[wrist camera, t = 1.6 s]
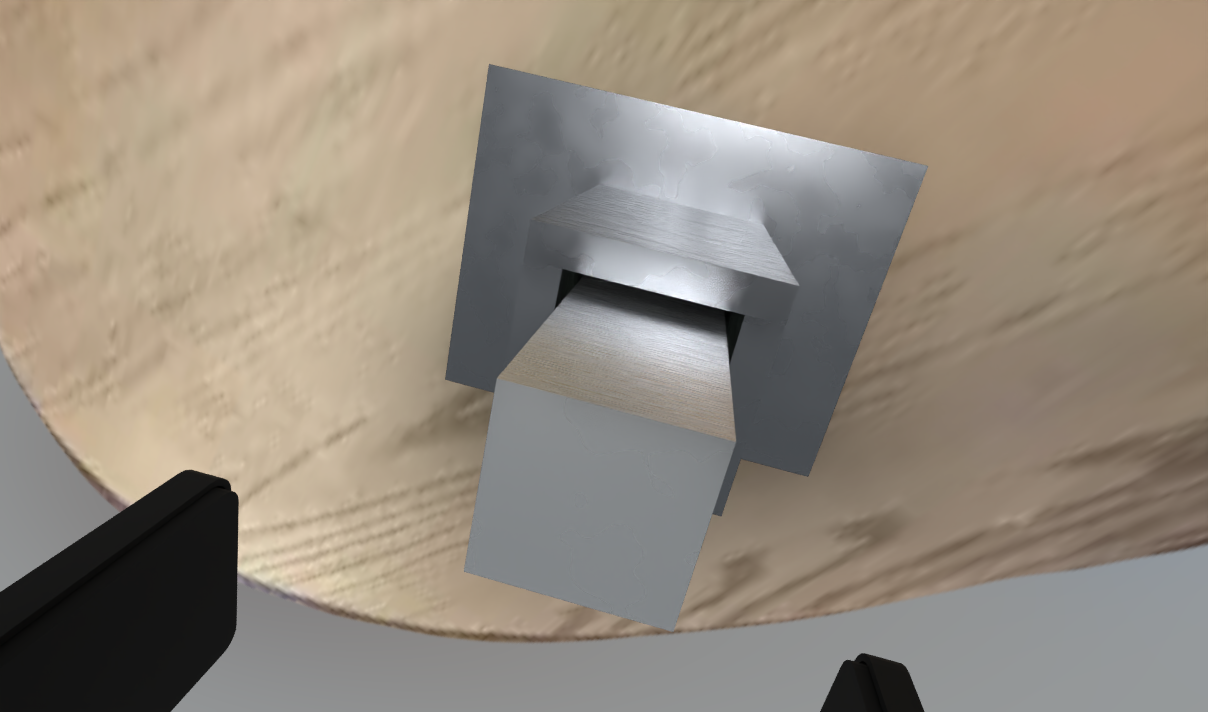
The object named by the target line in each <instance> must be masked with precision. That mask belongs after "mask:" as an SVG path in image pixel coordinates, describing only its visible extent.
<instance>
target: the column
mask: <svg viewBox="0 0 1208 712" xmlns="http://www.w3.org/2000/svg"><path fill="white" fill-rule="evenodd" d="M735 444H736V435H735V424H734V413H733V402H732V391H731V380H730V369H729V358H728V347H727V336H726V325H725V315H724V310H723V309H719V308H715V307H711V306H707V305H703V304H699V303H695V302H691V301H688V300H684V299H680V298H676V297H672V296H668V295H664V294H660V293H656V292H652V291H648V290H644V289H640V288H636V287H632V286H628V285H624V284H620V283H616V282H612V281H608V280H604V279H600V278H596V277H592V276H588V275H584V276H583V277H582V278H581V280H580V281H579V282H578V283H577V284H576V285H575V287H574V288H573V289H572V290H571V291H570V293H569V294H568V295H567V296H566V297H565V298H564V300H563V301H562V302H561V303H560V304H559V305H558V307H557V308H556V309H555V310H554V311H553V313H552V314H551V315H550V316H549V317H548V318H547V320H546V321H545V322H544V323H543V324H542V326H541V327H540V328H539V329H538V330H537V331H536V333H535V334H534V335H533V336H532V337H531V339H530V340H529V341H528V342H527V343H526V344H525V346H524V347H523V348H522V349H521V350H520V352H519V353H518V354H517V355H516V356H515V357H514V359H513V360H512V361H511V362H510V363H509V365H508V366H507V367H506V368H505V369H504V370H503V372H502V373H501V374H500V375H499V376H498V377H497V380H496V386H495V392H494V398H493V404H492V410H491V415H490V421H489V427H488V433H487V439H486V445H485V451H484V456H483V462H482V468H481V474H480V480H479V486H478V492H477V497H476V503H475V509H474V515H473V521H472V527H471V533H470V538H469V544H468V550H467V556H466V562H465V568H464V572H467V573H471V574H474V575H478V576H481V577H484V578H488V579H491V580H495V581H498V582H502V583H505V584H509V585H512V586H516V587H519V588H523V589H526V590H530V591H533V592H536V593H540V594H543V595H547V596H550V597H554V598H557V599H561V600H564V601H568V602H571V603H575V604H578V605H582V606H585V607H589V608H592V609H595V610H599V611H602V612H606V613H609V614H613V615H616V616H620V617H623V618H627V619H630V620H634V621H637V622H641V623H644V624H647V625H651V626H654V627H658V628H661V629H665V630H668V631H672V632H673V631H674V628H675V625H676V622H677V619H678V616H679V613H680V610H681V607H682V604H683V601H684V598H685V595H686V592H687V589H688V586H689V583H690V580H691V577H692V574H693V571H694V568H695V565H696V562H697V559H698V556H699V553H700V550H701V547H702V543H703V540H704V537H705V534H706V531H707V528H708V525H709V522H710V519H711V516H712V513H713V510H714V507H715V504H716V501H717V498H718V495H719V492H720V489H721V486H722V483H723V480H724V477H725V474H726V471H727V468H728V465H729V462H730V459H731V456H732V453H733V450H734V447H735Z"/></svg>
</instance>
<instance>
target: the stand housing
mask: <svg viewBox="0 0 1208 712" xmlns="http://www.w3.org/2000/svg"><path fill="white" fill-rule="evenodd" d="M927 168H928V166H926V165H922V164H917V163H913V162H909V161H905V160H900V159H896V158H892V157H887V156H883V155H879V154H874V153H870V152H866V151H861V150H857V149H853V148H849V147H844V146H840V145H836V144H831V143H827V142H823V141H818V140H814V139H810V138H805V137H801V136H797V135H792V134H788V133H784V132H780V131H775V130H771V129H767V128H762V127H758V126H754V125H749V124H745V123H741V122H736V121H732V120H728V119H724V118H719V117H715V116H711V115H706V114H702V113H698V112H693V111H689V110H685V109H680V108H676V107H672V106H668V105H663V104H659V103H655V102H650V101H646V100H642V99H637V98H633V97H629V96H624V95H620V94H616V93H611V92H607V91H603V90H599V89H594V88H590V87H586V86H581V85H577V84H573V83H568V82H564V81H560V80H555V79H551V78H547V77H543V76H538V75H534V74H530V73H525V72H521V71H517V70H512V69H508V68H504V67H499V66H495V65H491V64H489V68H488V75H487V82H486V90H485V97H484V104H483V111H482V118H481V126H480V133H479V140H478V147H477V154H476V162H475V169H474V176H473V183H472V190H471V198H470V205H469V212H468V219H467V226H466V234H465V241H464V248H463V255H462V262H461V269H460V277H459V284H458V291H457V298H456V305H455V313H454V320H453V327H452V334H451V341H450V349H449V356H448V363H447V370H446V377H445V380H449V381H453V382H456V383H460V384H464V385H468V386H471V387H475V388H479V389H482V390H486V391H490V392H495V386H496V380H497V377H498V376H499V375H500V374H501V373H502V372H503V370H504V369H505V368H506V367H507V366H508V365H509V363H510V362H511V361H512V360H513V359H514V357H515V356H516V355H517V354H518V353H519V352H520V350H521V349H522V348H523V347H524V346H525V344H526V343H527V342H528V341H529V340H530V339H531V337H532V336H533V335H534V334H535V333H536V331H537V330H538V329H539V328H540V327H541V326H542V324H543V323H544V322H545V321H546V320H547V318H548V317H549V316H550V315H551V314H552V313H553V311H554V310H555V309H556V308H557V307H558V305H559V304H560V303H561V302H562V301H563V300H564V298H565V297H566V296H567V295H568V294H569V293H570V291H571V290H572V289H573V288H574V287H575V285H576V284H577V283H578V282H579V281H580V280H581V278H582V277H583V276H584V275H588V276H592V277H596V278H600V279H604V280H608V281H612V282H616V283H620V284H624V285H628V286H632V287H636V288H640V289H644V290H648V291H652V292H656V293H660V294H664V295H668V296H672V297H676V298H680V299H684V300H688V301H691V302H695V303H699V304H703V305H707V306H711V307H715V308H719V309H723V310H724V315H725V325H726V336H727V347H728V358H729V369H730V380H731V391H732V402H733V413H734V424H735V435H736V444H735V447H734V450H733V453H732V456H731V459H730V462H729V465H728V468H727V471H726V474H725V477H724V480H723V483H722V486H721V489H720V492H719V495H718V498H717V501H716V504H715V507H714V510H713V513H712V514H715V515H718V516H722V513H723V510H724V507H725V504H726V501H727V498H728V495H729V492H730V489H731V486H732V483H733V480H734V477H735V474H736V472H737V469H738V466H739V463H740V460H741V459H744V460H748V461H751V462H755V463H759V464H762V465H766V466H770V467H774V468H777V469H781V470H785V471H789V472H792V473H796V474H800V475H804V476H807V477H808V476H809V473H810V471H811V468H812V466H813V463H814V461H815V458H816V455H817V453H818V450H819V448H820V445H821V442H822V440H823V437H824V435H825V432H826V429H827V427H828V424H829V422H830V419H831V416H832V414H833V411H834V409H835V406H836V404H837V401H838V398H839V396H840V393H841V391H842V388H843V385H844V383H845V380H846V378H847V375H848V372H849V370H850V367H851V365H852V362H853V360H854V357H855V354H856V352H857V349H858V347H859V344H860V341H861V339H862V336H863V334H864V331H865V328H866V326H867V323H868V321H869V318H870V315H871V313H872V310H873V308H874V305H875V303H876V300H877V297H878V295H879V292H880V290H881V287H882V284H883V282H884V279H885V277H886V274H887V271H888V269H889V266H890V264H891V261H892V259H893V256H894V253H895V251H896V248H897V246H898V243H899V240H900V238H901V235H902V233H903V230H904V227H905V225H906V222H907V220H908V217H909V214H910V212H911V209H912V207H913V204H914V202H915V199H916V196H917V194H918V191H919V189H920V186H921V183H922V181H923V178H924V176H925V173H926V170H927Z"/></svg>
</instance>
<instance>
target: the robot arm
mask: <svg viewBox="0 0 1208 712" xmlns="http://www.w3.org/2000/svg"><path fill="white" fill-rule="evenodd" d="M238 504H239V501H238V495H237V494H236V493H235V492H233V491H231V485H230V483H229V481H228V480H226V479H223V478H220V477H216V476H212V475H209V474H205V473H201V472H198V471H194V470H185V471H183V472H181V473H179V474H177V475H176V476H174V477H173V478H171V479H170V480H168V481H167V482H165V483H164V484H162V485H161V486H159V487H158V488H156V489H155V490H153V491H152V492H150V493H149V494H147V495H146V496H144V497H143V498H141V499H140V500H138V501H137V502H135V503H134V504H132V505H131V506H129V507H128V508H126V509H125V510H123V511H122V512H120V513H119V514H117V515H116V516H114V517H113V518H111V519H110V520H108V521H107V522H105V523H104V524H102V525H101V526H99V527H98V528H96V529H94V530H93V531H92V532H90V533H88V534H87V535H85V536H84V537H82V538H81V539H79V540H78V541H76V542H75V543H73V544H72V545H70V546H69V547H67V548H66V549H64V550H63V551H61V552H60V553H59V554H57V555H55V556H54V557H52V558H51V559H49V560H48V561H46V562H45V563H43V564H42V565H40V566H39V567H37V568H36V569H34V570H33V571H31V572H30V573H28V574H27V575H25V576H24V577H22V578H21V579H19V580H18V581H16V582H15V583H13V584H12V585H10V586H9V587H7V588H6V589H4V590H3V591H1V592H0V712H171V711H172V710H173V708H174V707H175V706H176V705H177V704H178V703H179V702H180V701H181V699H182V698H183V697H184V696H185V695H186V694H187V693H188V692H189V691H190V690H191V688H192V687H193V686H194V685H195V684H196V682H198V681H199V680H200V678H201V677H202V676H203V675H204V674H205V673H206V672H207V671H208V669H210V667H211V666H212V665H213V664H214V663H215V662H216V661H217V660H218V659H219V657H220V656H221V655H222V654H223V653H224V652H225V650H226V649H227V648H228V646H229V645H230V643H231V641H232V639H233V637H234V634H235V630H236V621H237V620H236V618H237V617H236V616H237V562H238ZM820 712H924V710H923V707H922V705H921V702H920V699H919V697H918V694H917V692H916V689H915V687H914V685H913V682H912V679H911V677H910V674H909V672H908V670H907V668H906V667H905V666H904V665H903V664H901V663H898V662H894V661H891V660H887V659H883V658H880V657H876V656H872V655H869V654H865V653H864V654H863V653H862V654H860V655H858V656H857V658H856V660H855V661H851V660H846V661H844V662H843V664H842V666H841V668H840V670H839V672H838V674H837V676H836V679H835V681H834V683H833V685H832V687H831V689H830V692H829V694H828V696H827V698H826V700H825V702H824V705H823V707H822V709H821V711H820Z"/></svg>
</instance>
